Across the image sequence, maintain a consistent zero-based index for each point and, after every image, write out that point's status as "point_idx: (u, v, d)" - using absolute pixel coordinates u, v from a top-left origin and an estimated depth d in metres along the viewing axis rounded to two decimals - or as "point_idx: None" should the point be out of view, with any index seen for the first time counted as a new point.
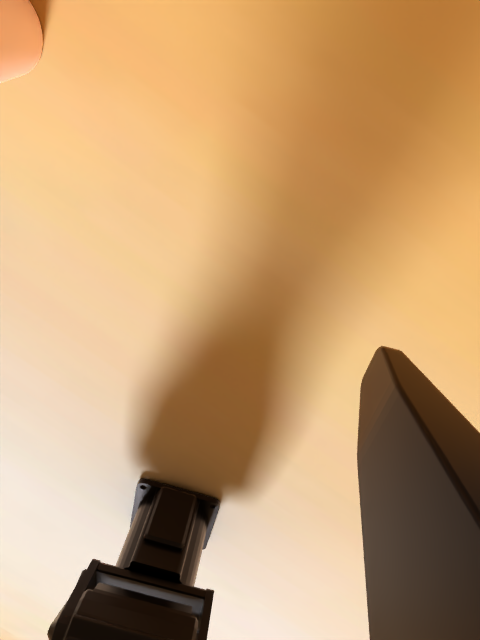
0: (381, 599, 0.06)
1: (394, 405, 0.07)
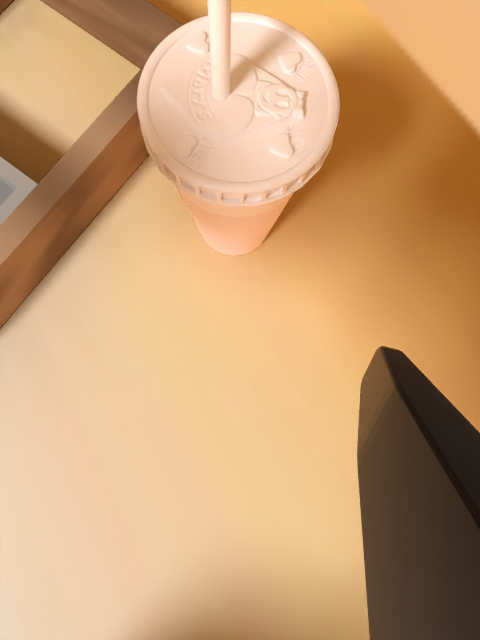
0: (381, 599, 0.06)
1: (394, 405, 0.07)
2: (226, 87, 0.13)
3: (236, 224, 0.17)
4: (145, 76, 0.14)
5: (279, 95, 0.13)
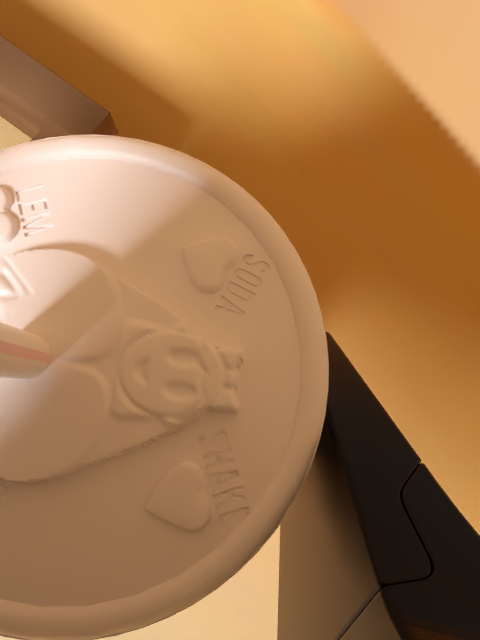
0: (287, 574, 0.06)
1: None
2: (21, 371, 0.05)
3: None
4: None
5: (176, 363, 0.05)
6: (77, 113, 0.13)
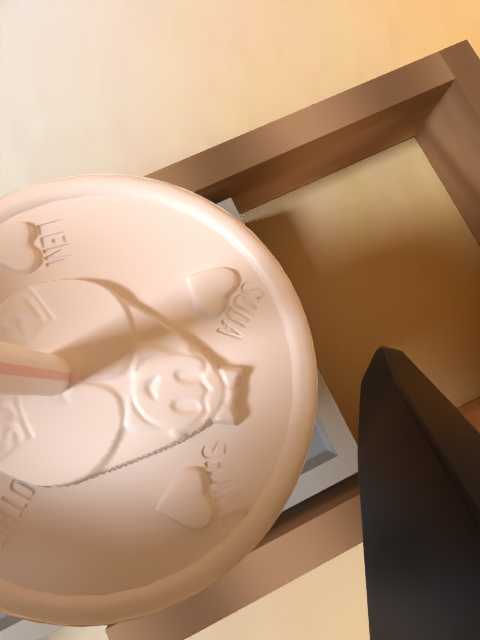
0: (381, 599, 0.06)
1: (394, 405, 0.07)
2: (48, 390, 0.05)
3: None
4: None
5: (182, 381, 0.06)
6: None
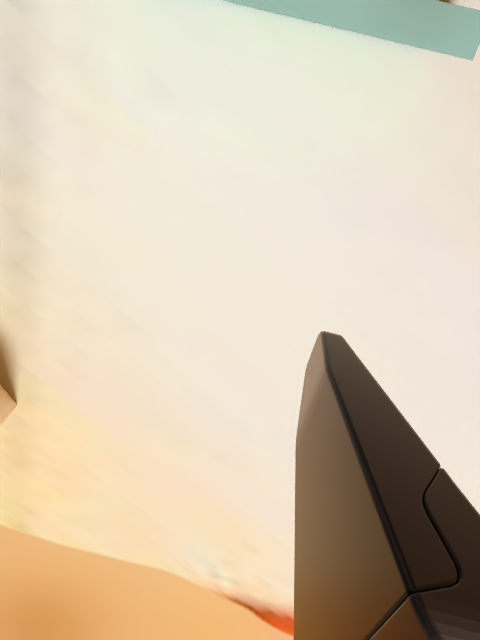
0: (303, 579, 0.06)
1: (323, 387, 0.07)
2: None
3: None
4: None
5: None
6: None
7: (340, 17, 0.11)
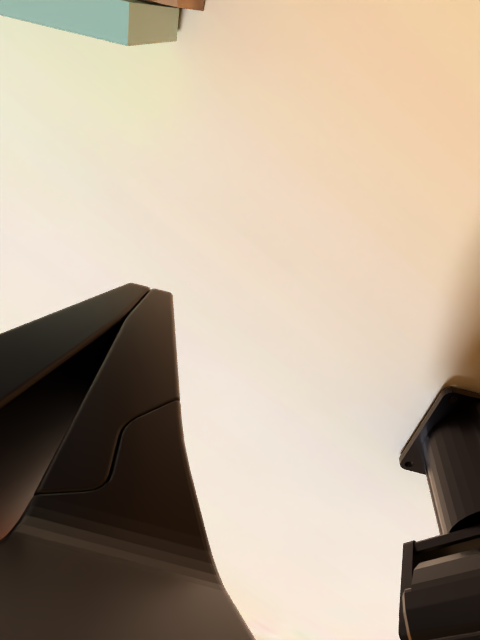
0: None
1: None
2: None
3: None
4: None
5: None
6: None
7: (3, 6, 0.12)
